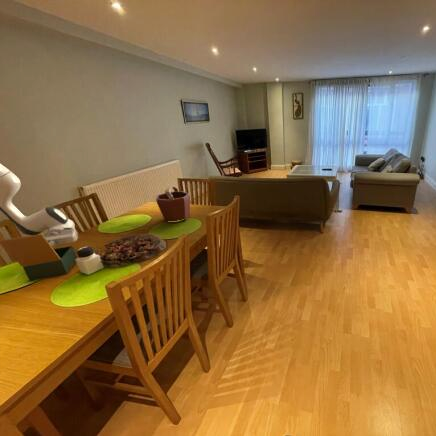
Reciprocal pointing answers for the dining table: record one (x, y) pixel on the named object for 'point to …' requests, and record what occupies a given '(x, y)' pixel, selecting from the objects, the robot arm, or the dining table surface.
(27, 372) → the dining table surface
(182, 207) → the bucket
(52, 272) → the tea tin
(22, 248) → the box lid
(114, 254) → the food dish
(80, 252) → the medicine bottle
